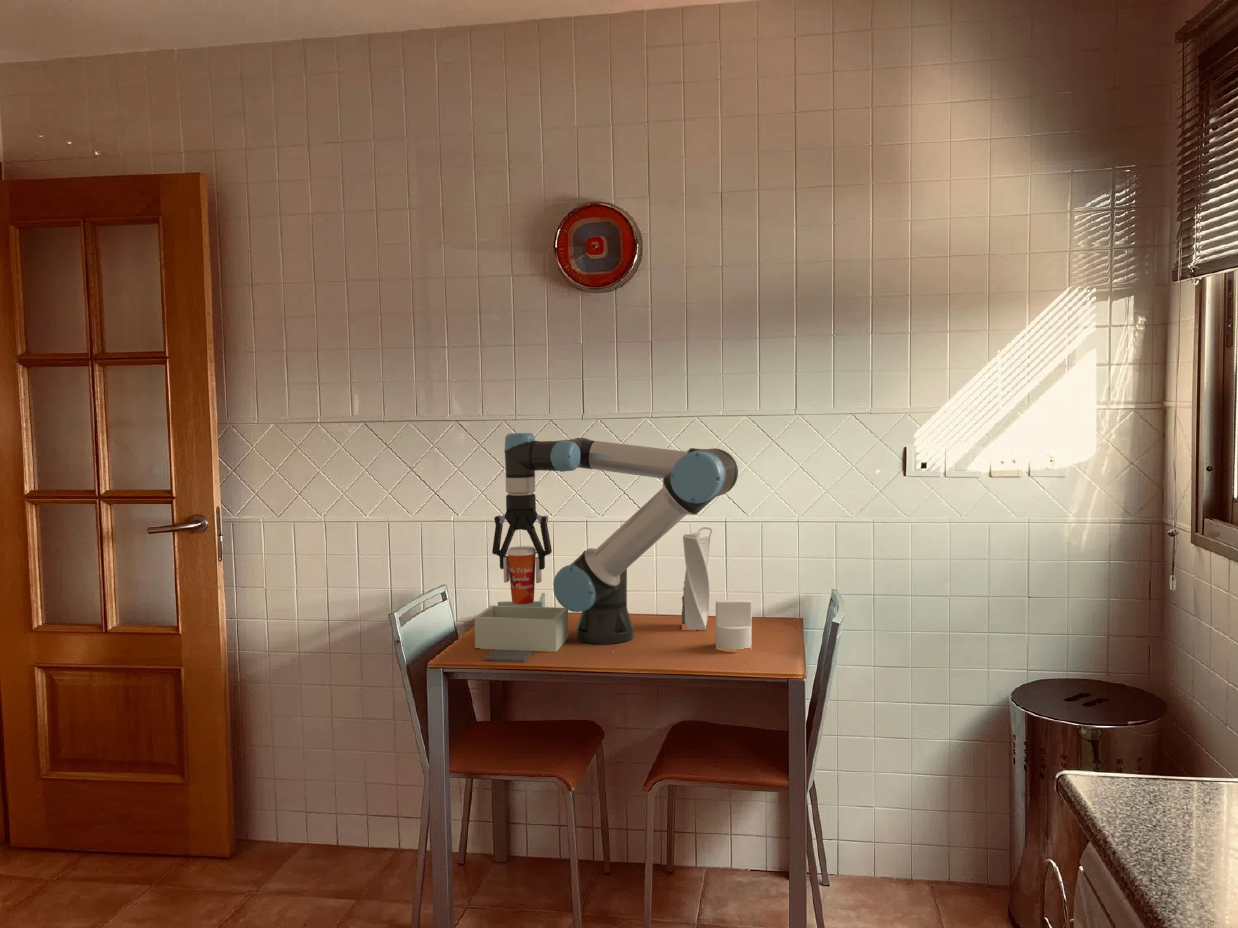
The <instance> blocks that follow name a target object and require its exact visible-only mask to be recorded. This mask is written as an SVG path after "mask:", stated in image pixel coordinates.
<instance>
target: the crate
mask: <svg viewBox="0 0 1238 928" xmlns="http://www.w3.org/2000/svg"><path fill="white" fill-rule="evenodd" d="M567 638H568V639H569V610H567V609H565V608H564V607H554V606H553V607H552V606H549V607H548V606H545V607H523V606H498V605H490V606H489V607H487V608H486V609H484V610H483V611H481V613H479V614H478V615H476V616H475V617H474V649H475V648H480V649H479V650H493V649H497V650H498V649H499V650H524V651H533V652H551V653H556V652H558V650H559V649H560V648H561V647H562V645H564V643H565V642H566V641H567V640H568V639H567Z"/></svg>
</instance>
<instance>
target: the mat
mask: <svg viewBox="0 0 1238 928" xmlns="http://www.w3.org/2000/svg"><path fill="white" fill-rule="evenodd" d="M533 652H534V651H524V650H497V649H494V650H493V649H491V651H490V652H489V653H488V654H487V655H486V656H485V657H483V661H484V660H493V661H492V662H508V663H509V662H510V663H511V662H512V663H514V662H515V663H525V662H526V661H527V660H528V659H529V658H530V656H532V654H533ZM494 660H495V661H494Z"/></svg>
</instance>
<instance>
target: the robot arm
mask: <svg viewBox="0 0 1238 928" xmlns="http://www.w3.org/2000/svg"><path fill="white" fill-rule="evenodd" d="M503 452H504V463H505V465H504V466H505V492H506V493H507V494H506V495H505V506H506V507H505V508H506V511H505V513H504V514H503V515H502V514H501V515H499V514H498V515H497V516H494V517H493V518H494V523H495V528H494V536H493V543H492V549H491V550H492V551H491V554H493V555H496V556H498V557H499V568H500V570H503V583H504V584H506V583H508V582H510V574H509V563H508V554H507V552H508V549H509V548H510V545H511V542H512V540H513V536H514V535H515V533H516V531H520V530H522V531H526V532H527V534H528V535H529V538H530V540H531V542H532V545H533V547H534V548H535V549H536V550H535V551H536V552H537V556H536V557H535V583H536V584H540V583H541V582H542V570H544V569H545V568H546V559H545V558H546V556H549V555H551V554H552V553H553V550H552V543H551V539H550V538H551V537H550V533H549V528H548V521H549V516H548V515H540V514H538V513H537V507H536V501H537V500H536V494H535V492H536V471H538V472H539V471H542V472H543V471H545V472H547V471H550V472H561V473H564V472H572V471H575V470H577V469H580V468H581V469H585V470H586V469H587V470H598V471H604V472H611V473H612V472H613V473H617V474H618V473H619V474H625V475H626V474H627V475H634V476H639V477H648V478H653V479H654V478H656V479H662V488H661V489H659V490H658V492H656V493H655V494H654V495H653V496H652V497H651V498H650V499H649V500H648V501H647V502H646V503H644V505H642V506H641V507H640V508H639V509H638V510H637V511H636V512H635V513H634V514H633V515H632V516H630V517H629V518H628V519H627V520H626V521H625V522H624V523H622V525H621V526H619V528H618V529H616V530H615V531H614V532H613V533H612V534H610V536H609V537H608V538H607V539H605V540H604V541H603V542H602V543H601V544H600V545H599V546H598V547H597V548H593V547H589V548H587V549H586V550H584V551H582V554H580V555H579V556H578V557H577V558H576V559H575V560H574V561H572V562H571V564H568V565H565V566H562V567H561V568H560V569H559V570H558V571H557V572H556V575H554V578H553V579H554V580H553V593H554V596H555V598H556V600H557V602H558V603H559V604H560V606H561V607H562V608H565V609H567V610H568V612H573V613H574V612H575V613H578V612H579V613H580V612H581V614H580V617H579V620H578V623H577V627H576V639H577V640H579V641H581V642H583V643H588V644H597V645H598V644H600V645H603V644H604V645H607V644H608V645H611V644H618V643H619V644H620V643H625V642H628V641H630V640H632V639H634V637H635V629H634V625H633V622H632V620H631V616H630V614H629V611H628V603H627V602H628V590H627V589H628V574H627V573H628V568H630V567H631V566H632V564H633V563H635V562H636V561H637V560H638V559H639V558H640V557H641V556H642V555H644V554H645V553H646V552H647V551H648V550H649V549H650V548H651V547H652V546H654V545H655V544H656V543H657V542H658V541H660V540H661V538H662V537H663V536H665V534H667V533H668V532H669V531H671V529H673V527H675V526H676V525H677V524H678V523H679V522H680V521H682V520H683V518H685V517H686V516H687V515H688V516H689V515H691V516H696V515H697V514H699V512H701V511H702V510H703V509H704V508H705V507H707V506H708V505H709V504H710V503H711V502H712V501H714V500H715V499H716V498H717V497H719V496H722V495H725V494H727V493H729V492H730V491H731V490H732V489H733V488H734V486H735V485H736V483H737V480H738V477H739V467H738V465H737V461H736V460H735V458H734V457H733V456H732V454H730V453H729V452H728V451H725V450H723V449H722V448H721V449H720V448H716V447H715V448H713V447H712V448H695V447H693V448H692V447H691V448H689V449H687V450H678V449H669V448H659V447H652V446H643V445H635V444H627V443H626V444H625V443H618V442H617V443H616V442H609V441H601V440H600V441H599V440H591V439H589V438H587V437H586V438H585V437H575V438H569V439H560V440H543V441H542V440H536V439H535V435H534V434H533V433H532V432H515V433H514V432H512V433H507V434H506V435H505V438H504V450H503ZM505 520H506V522H507V523H508V525H509V527H508V529H507V533H506V535H505V538H504V541H503V542H501V541H502V536H503V535H502V534H503V527H504V524H505ZM536 521H538V524H539V525H540V533H541V537H542V538H541V539H542V543H543V545H542V543H541V540H540V539H539V536H538V534H537V531H536V527H535V526H534V523H535V522H536ZM501 543H502V545H501Z"/></svg>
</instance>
